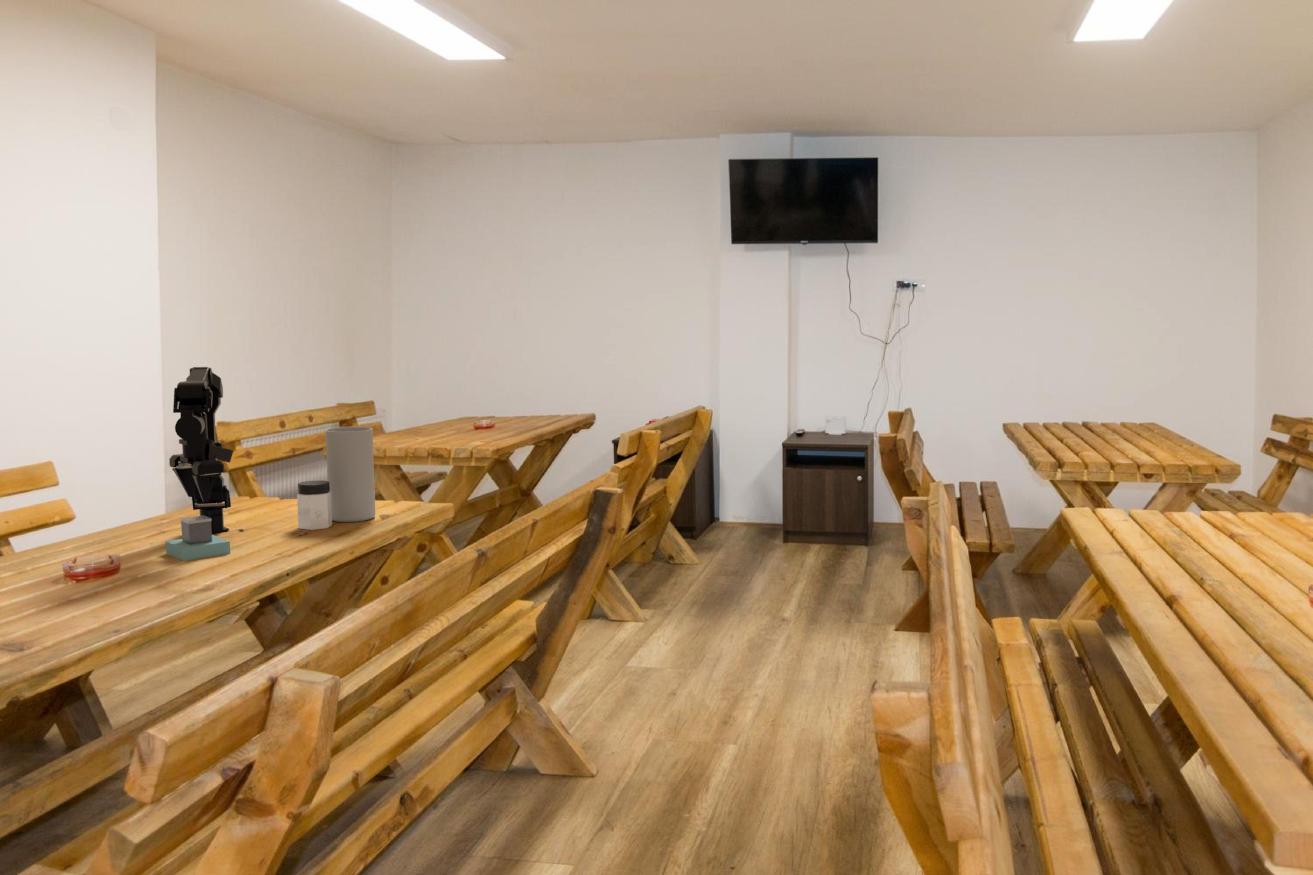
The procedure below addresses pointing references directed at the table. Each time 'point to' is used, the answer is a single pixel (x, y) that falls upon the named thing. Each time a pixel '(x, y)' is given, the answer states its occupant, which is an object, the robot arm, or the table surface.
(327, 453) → the cylinder vase
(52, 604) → the table surface
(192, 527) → the tin
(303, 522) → the jar
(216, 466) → the robot arm
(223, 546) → the teal box
